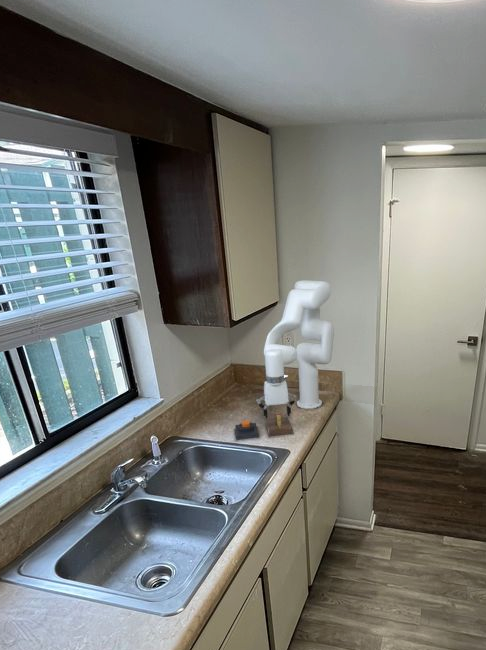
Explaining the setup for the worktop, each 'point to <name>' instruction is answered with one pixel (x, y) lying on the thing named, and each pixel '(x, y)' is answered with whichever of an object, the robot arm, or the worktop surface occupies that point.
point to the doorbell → (246, 431)
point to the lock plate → (278, 427)
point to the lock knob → (278, 418)
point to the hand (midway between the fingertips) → (277, 416)
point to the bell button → (245, 423)
